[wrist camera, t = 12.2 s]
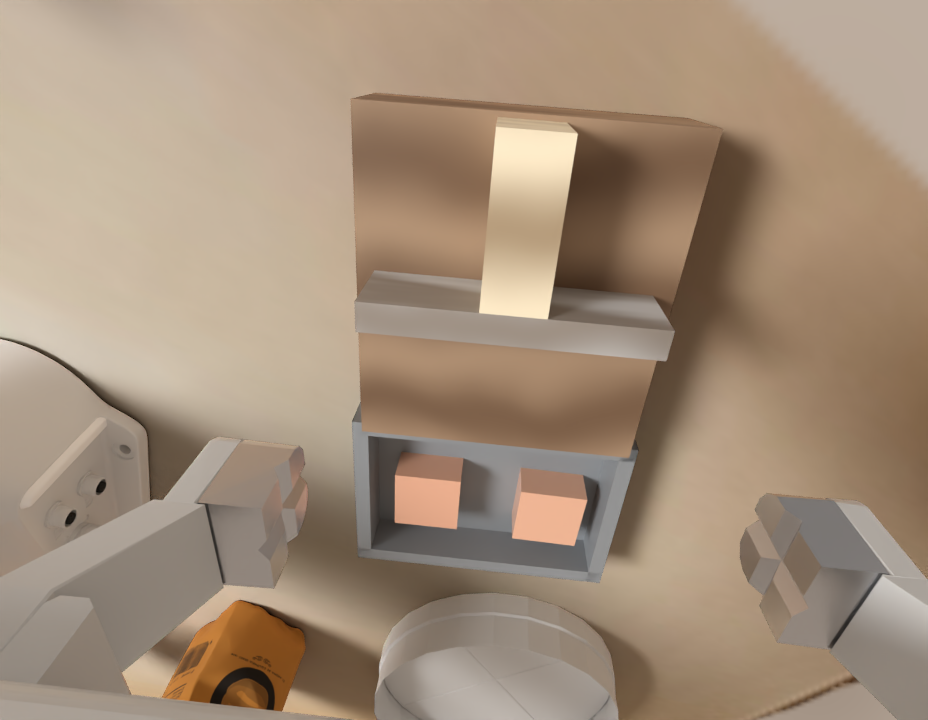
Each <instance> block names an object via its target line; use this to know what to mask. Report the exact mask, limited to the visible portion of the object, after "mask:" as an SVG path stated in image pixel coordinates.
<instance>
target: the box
mask: <svg viewBox="0 0 928 720" xmlns="http://www.w3.org/2000/svg"><path fill="white" fill-rule="evenodd" d="M352 432H353V454H354V477H355V499H356V522H357V544H358V557H362V558H372V559H381V560H390V561H400V562H409V563H418V564H428V565H437V566H446V567H456V568H465V569H474V570H484V571H493V572H502V573H512V574H521V575H530V576H540V577H549V578H558V579H568V580H577V581H586V582H596V583H600V580H601V576H602V573H603V569H604V566H605V563H606V559H607V556H608V552H609V549H610V546H611V542H612V539H613V535H614V532H615V529H616V525H617V522H618V519H619V515H620V512H621V508H622V505H623V502H624V498H625V495H626V491H627V488H628V485H629V481H630V478H631V474H632V471H633V468H634V464H635V461H636V457H637V454H638V451H639V450H638V447H637V444H636V441H635V439H634V442H633V446H632V449H631V453H630V456H629V458H624V457H614V456H604V455H594V454H584V453H575V452H565V451H555V450H545V449H535V448H525V447H515V446H505V445H495V444H485V443H475V442H465V441H455V440H445V439H435V438H425V437H415V436H405V435H395V434H385V433H375V432H365V431H362V422H361V402H360V404H359V407H358V409H357V411H356V414H355V416H354V418H353V421H352ZM401 452H408V453H418V454H428V455H438V456H448V457H458V458H463V469H462V481H461V492H460V504H459V513H458V522H457V529H450V528H441V527H431V526H422V525H412V524H403V523H395V473H396V470H397V466H398V462H399V459H400V455H401ZM520 468H529V469H538V470H546V471H554V472H562V473H570V474H579V475H583V478H584V484H585V489H586V495H587V503H586V507H585V510H584V514H583V517H582V521H581V524H580V528H579V531H578V535H577V538H576V542H575V545H574V546H571V545H562V544H554V543H546V542H538V541H530V540H522V539H514V538H512V509H513V504H514V499H515V494H516V488H517V483H518V478H519V473H520Z"/></svg>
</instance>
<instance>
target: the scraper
mask: <svg viewBox="0 0 928 720" xmlns="http://www.w3.org/2000/svg"><path fill="white" fill-rule="evenodd" d="M577 136H578V133H577V132H576V131H575V130H574V129H573V128H572V127H571V126H570V125H569V124H568V123H565V122H553V121H541V120H529V119H516V118H504V117H498V118H497V124H496V132H495V143H494V154H493V165H492V176H491V187H490V198H489V209H488V220H487V231H486V242H485V253H484V265H483V276H482V280H474V279H463V278H452V277H441V276H430V275H419V274H408V273H397V272H386V271H375V270H374V272H373V274H372V275H371V277H370V278H369V280H368V281H367V283H366V284H365V286H364V288H363V289H362V291H361V292H360V294H359V295H358V297H357V298H356V300H355V328H356V332H360V333H371V334H382V335H392V336H403V337H413V338H424V339H435V340H445V341H456V342H466V343H477V344H488V345H498V346H509V347H519V348H530V349H541V350H551V351H562V352H572V353H583V354H594V355H604V356H615V357H625V358H636V359H646V360H657V361H667V357H668V354H669V350H670V347H671V344H672V340H673V337H674V334H675V330H674V329H673V327H672V325H671V324H670V322H669V321H668V319H667V317H666V316H665V314H664V312H663V311H662V309H661V308H660V306H659V304H658V303H657V301H656V300H655V298H654V296H650V295H639V294H628V293H617V292H606V291H595V290H584V289H573V288H562V287H553V284H554V278H555V272H556V266H557V260H558V253H559V247H560V241H561V235H562V229H563V222H564V216H565V210H566V204H567V198H568V191H569V185H570V179H571V173H572V167H573V161H574V154H575V148H576V142H577Z"/></svg>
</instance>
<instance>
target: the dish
mask: <svg viewBox="0 0 928 720" xmlns="http://www.w3.org/2000/svg"><path fill="white" fill-rule="evenodd" d="M615 695H616V692H615V676H614V670H613V665H612V659H611V654H610V652H609V651H608V649H607V647H606V645H605V643H604V641H603V639H602V637H601V636H600V635H599V634H598V633H597V632H596V631H595V630H594V629H592V628H591V627H590V626H589V625H588V624H587V623H586V622H585V621H584V620H582V619H581V618H579V617H577V616H575V615H573V614H572V613H570V612H568V611H566V610H564V609H562V608H561V607H559V606H556V605H553V604H550V603H546V602H543V601H540V600H537V599H534V598H530V597H526V596H518V595H510V594H502V593H477V594H461V595H456V596H452V597H448V598H444V599H439V600H435V601H432V602H430V603H428V604H426V605H424V606H422V607H420V608H418V609H415V610H413V611H411V612H409V613H408V614H407V615H406V616H405V617H404V618H402V619H401V620H400V621H399V622H398V623H397V624H396V625H395V626H394V627H393V628H392V629H391V631H390V633H389V635H388V637H387V639H386V641H385V643H384V646H383V650H382V655H381V659H380V663H379V679H378V684H377V688H376V692H375V708H374V713H375V716H376V718H377V720H619V718H618V707H617V702H616V696H615Z"/></svg>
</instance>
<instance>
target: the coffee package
mask: <svg viewBox="0 0 928 720" xmlns="http://www.w3.org/2000/svg"><path fill="white" fill-rule="evenodd" d="M305 648H306V647H305V639H304V634H303V632H302V631H301V630H300V629H298V628H292V627H290V626H288V625H287V624H285V623H284V622H283V621H282V620H281V619H280V618H277V617H274V616H271V615H269V614H268V613H267V612H266V610H264V609H263V608H261V607H259V606H254V605H252V604H250V603H247V602H244V601H236V602H234V603H233V604H232V605H231V606H230V607H229V608H228V609H227V610H225V611H224V612H223V613H222V614H221V615H220V616H219V618H218V619H217V620H216V621H213V622H210V623H208V624H207V625H205V626H204V627H203V628H201V629H200V630H199V631H198V632H197V633H196V635H195V637H194V638H193V640H192V642H191V644H190V645H189V647H188V649H187V651H186V653H185V654H184V656H183V658H182V660H181V662H180V663H179V665H178V667H177V669H176V671H175V673H174V675H173V676H172V678H171V680H170V682H169V684H168V686H167V688H166V690H165V692H164V694H163V696H162V698H166V699H175V700H184V701H193V702H202V703H211V704H220V705H228V706H237V707H246V708H255V709H264V710H273V711H281V712H282V710H283V707H284V705H285V702H286V699H287V696H288V694H289V691H290V688H291V685H292V683H293V680H294V677H295V675H296V672H297V669H298V666H299V664H300V661H301V659H302V657H303V654H304V652H305Z"/></svg>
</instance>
